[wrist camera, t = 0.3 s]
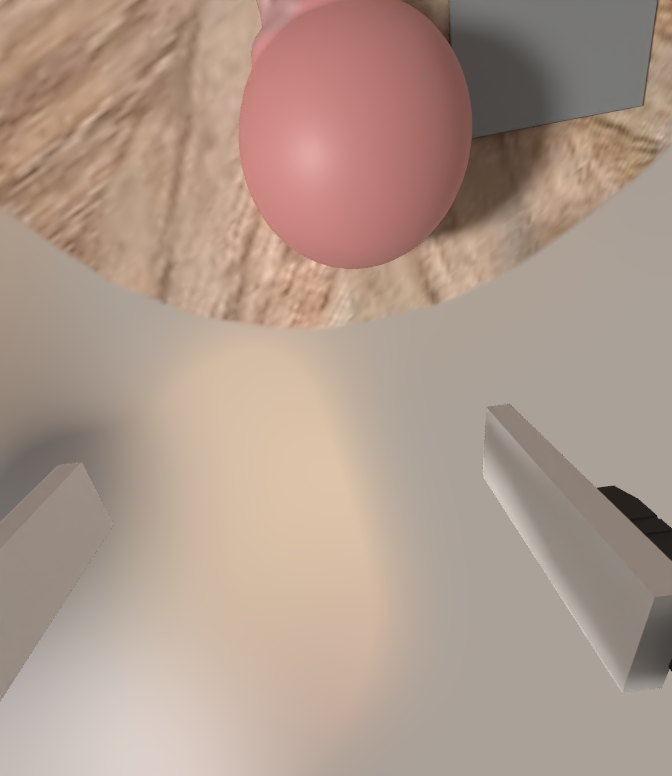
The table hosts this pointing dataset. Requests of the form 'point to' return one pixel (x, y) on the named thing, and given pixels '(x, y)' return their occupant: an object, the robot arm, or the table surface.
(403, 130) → the balloon
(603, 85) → the mat
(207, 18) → the table surface
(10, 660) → the robot arm
